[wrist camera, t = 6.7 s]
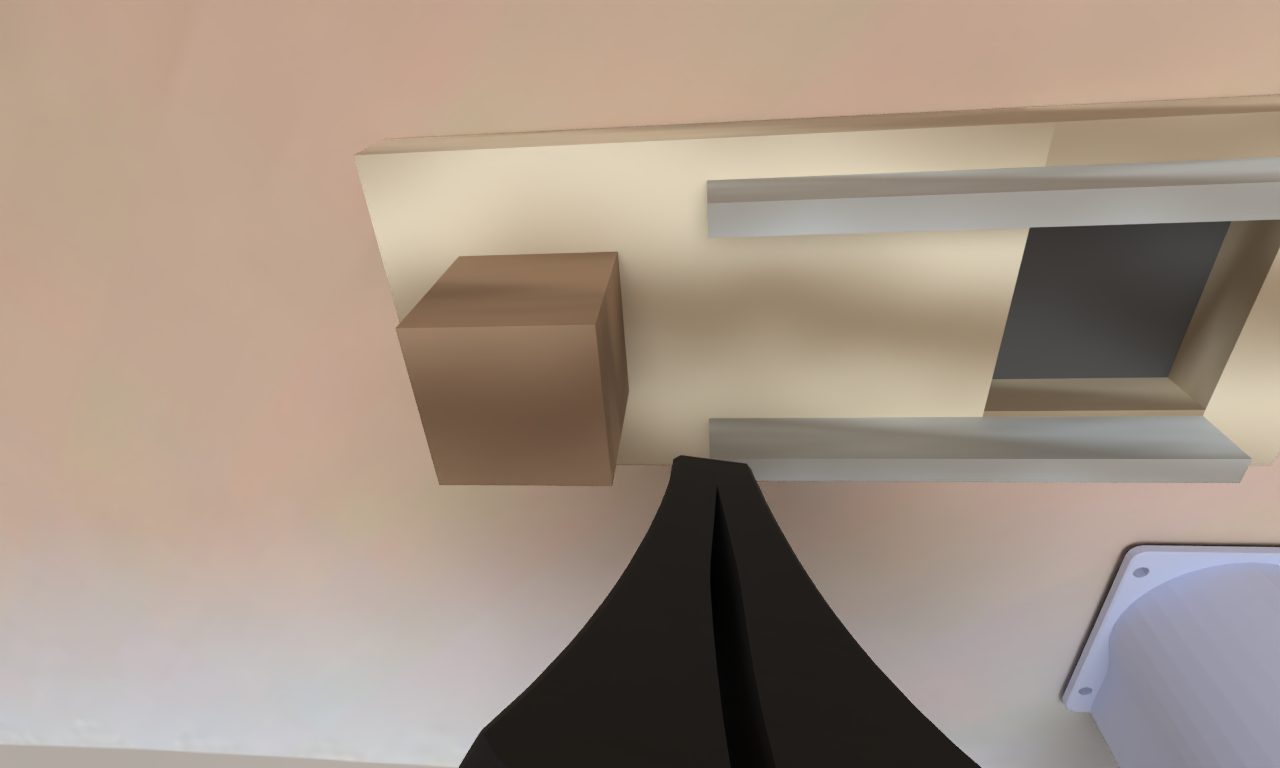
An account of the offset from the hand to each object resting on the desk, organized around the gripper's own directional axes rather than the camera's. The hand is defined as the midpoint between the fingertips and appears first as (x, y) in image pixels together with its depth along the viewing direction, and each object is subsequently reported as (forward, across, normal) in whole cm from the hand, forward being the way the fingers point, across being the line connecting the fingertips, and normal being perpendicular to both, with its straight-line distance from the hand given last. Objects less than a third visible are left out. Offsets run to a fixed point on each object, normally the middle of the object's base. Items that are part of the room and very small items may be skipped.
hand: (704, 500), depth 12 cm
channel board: (+9, -4, -1) cm, 10 cm away
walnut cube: (+8, +4, +1) cm, 9 cm away
